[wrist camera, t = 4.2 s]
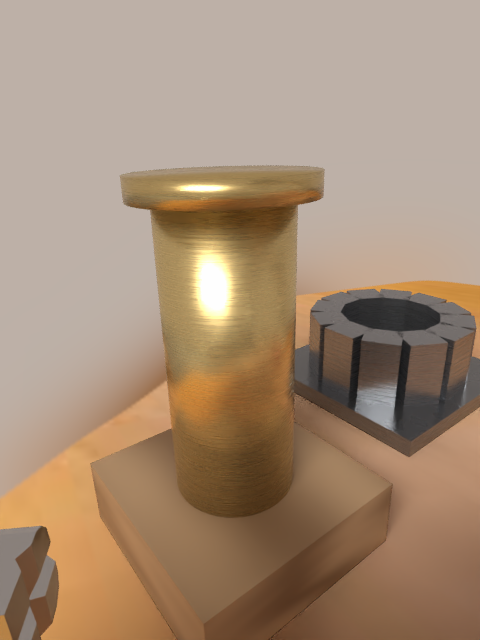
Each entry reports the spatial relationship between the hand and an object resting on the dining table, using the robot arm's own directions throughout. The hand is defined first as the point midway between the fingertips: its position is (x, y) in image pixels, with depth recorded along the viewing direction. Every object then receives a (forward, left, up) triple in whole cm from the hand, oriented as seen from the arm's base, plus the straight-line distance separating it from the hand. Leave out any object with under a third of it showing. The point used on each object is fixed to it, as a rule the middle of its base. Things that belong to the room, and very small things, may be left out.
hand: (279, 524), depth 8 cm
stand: (-5, -8, -9) cm, 13 cm away
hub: (-21, -12, -9) cm, 25 cm away
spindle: (-5, -8, -6) cm, 11 cm away
